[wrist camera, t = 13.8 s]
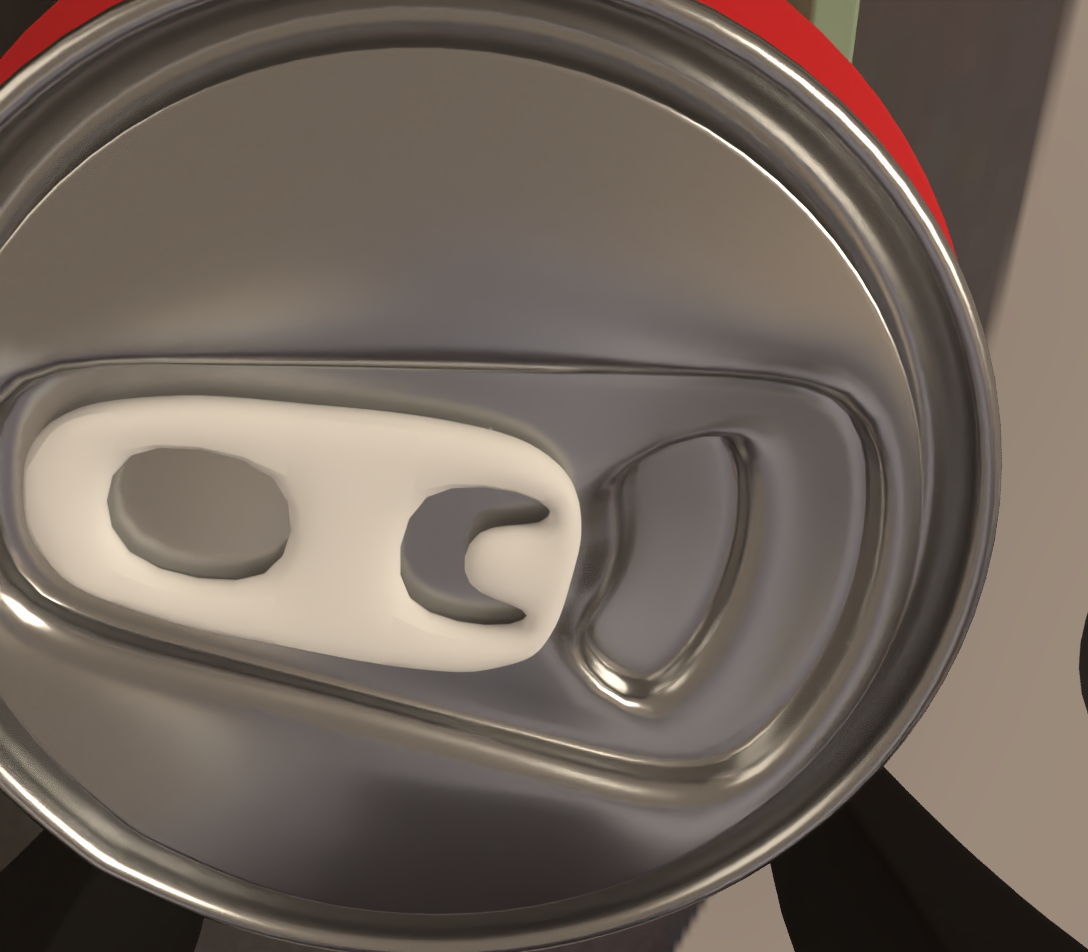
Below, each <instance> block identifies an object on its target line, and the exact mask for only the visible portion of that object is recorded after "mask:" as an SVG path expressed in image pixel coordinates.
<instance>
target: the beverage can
mask: <svg viewBox="0 0 1088 952" xmlns="http://www.w3.org/2000/svg"><path fill="white" fill-rule="evenodd" d="M1001 454H1002V452H1001V425H1000V415H999V407H998V399H997V391H996V384H995V377H994V373H993V368H992V363H991V359H990V354H989V350H988V345H987V340H986V337H985V333H984V330H983V327H982V324H981V321H980V318H979V315H978V311H977V308H976V305H975V302H974V299H973V296H972V294H971V291H970V289H969V286H968V284H967V282H966V279H965V277H964V275H963V272H962V270H961V268H960V265H959V263H958V260H957V257H956V253H955V250H954V247H953V244H952V241H951V238H950V235H949V232H948V228H947V225H946V222H945V219H944V217H943V215H942V212H941V210H940V208H939V205H938V203H937V200H936V198H935V196H934V193H933V191H932V189H931V186H930V184H929V181H928V179H927V177H926V175H925V173H924V172H923V170H922V168H921V166H920V164H919V162H918V160H917V158H916V156H915V155H914V153H913V151H912V149H911V147H910V145H909V143H908V141H907V140H906V138H905V137H904V135H903V133H902V132H901V130H900V129H899V127H898V126H897V124H896V123H895V121H894V120H893V118H892V117H891V115H890V113H889V112H888V110H887V109H886V107H885V106H884V104H883V103H882V101H881V100H880V99H879V98H878V96H877V95H876V94H875V92H874V91H873V90H872V89H871V87H870V86H869V85H868V84H867V82H866V81H865V80H864V78H863V77H862V76H861V75H860V73H859V72H858V71H857V70H856V68H855V67H854V66H853V65H852V64H851V63H850V62H849V60H848V59H847V58H846V57H845V56H844V55H843V54H842V53H841V52H840V51H839V50H838V49H837V48H836V47H835V46H834V45H833V44H832V42H831V41H830V40H829V39H828V38H827V37H826V36H825V35H824V34H823V33H822V32H821V31H820V30H819V29H818V28H817V27H816V26H814V25H813V24H812V23H811V22H810V21H809V20H808V19H807V18H805V17H804V16H803V15H802V14H801V13H800V12H799V11H797V10H796V9H795V8H794V7H793V6H792V5H791V4H790V3H788V2H787V1H786V0H58V1H57V2H56V3H55V4H54V5H53V6H52V7H51V8H50V9H49V10H47V11H46V12H45V13H44V14H43V15H42V16H41V17H40V18H39V19H38V20H37V21H35V22H34V23H33V24H32V25H31V26H30V27H29V28H28V29H27V30H26V31H25V32H24V33H23V34H22V35H21V36H20V38H19V39H18V40H17V41H16V42H15V43H14V44H13V45H12V47H11V48H10V49H9V50H8V51H7V52H6V53H5V54H4V55H3V57H2V58H1V59H0V791H1V792H2V793H3V794H4V795H5V796H6V797H8V798H9V799H10V800H11V801H12V802H13V803H14V804H15V805H17V806H18V807H19V808H20V809H21V810H22V811H23V812H24V813H25V814H27V815H28V816H29V817H30V818H31V819H32V820H33V821H35V822H36V823H37V824H38V825H39V826H41V827H42V828H43V829H44V830H45V831H47V832H48V833H49V834H50V835H51V836H53V837H54V838H55V839H56V840H58V841H59V842H60V843H61V844H63V845H64V846H65V847H67V848H68V849H69V850H70V851H72V852H73V853H74V854H75V855H77V856H78V857H79V858H81V859H82V860H83V861H85V862H86V863H87V864H89V865H90V866H92V867H94V868H95V869H97V870H98V871H100V872H102V873H104V874H106V875H108V876H110V877H112V878H114V879H116V880H119V881H121V882H123V883H125V884H127V885H129V886H132V887H134V888H136V889H138V890H140V891H142V892H145V893H147V894H149V895H151V896H154V897H156V898H158V899H161V900H163V901H165V902H167V903H170V904H172V905H175V906H177V907H180V908H182V909H185V910H187V911H190V912H192V913H195V914H197V915H200V916H202V917H205V918H208V919H211V920H214V921H216V922H219V923H222V924H225V925H228V926H231V927H234V928H237V929H241V930H244V931H247V932H251V933H254V934H258V935H261V936H265V937H269V938H273V939H277V940H281V941H286V942H290V943H294V944H298V945H303V946H309V947H315V948H320V949H326V950H331V951H338V952H530V951H537V950H544V949H550V948H555V947H560V946H564V945H569V944H574V943H579V942H584V941H587V940H591V939H595V938H599V937H603V936H606V935H610V934H614V933H617V932H620V931H624V930H627V929H630V928H633V927H636V926H639V925H642V924H645V923H648V922H651V921H654V920H656V919H659V918H661V917H664V916H666V915H669V914H672V913H674V912H677V911H679V910H682V909H684V908H686V907H688V906H691V905H693V904H695V903H697V902H699V901H702V900H704V899H706V898H708V897H710V896H712V895H715V894H716V893H718V892H720V891H722V890H724V889H726V888H728V887H730V886H732V885H733V884H735V883H737V882H739V881H741V880H743V879H745V878H746V877H748V876H750V875H751V874H753V873H754V872H756V871H758V870H760V869H761V868H763V867H764V866H766V865H768V864H769V863H771V862H773V861H774V860H776V859H777V858H779V857H780V856H782V855H783V854H784V853H786V852H787V851H789V850H790V849H792V848H793V847H794V846H796V845H797V844H799V843H800V842H802V841H803V840H804V839H806V838H807V837H808V836H809V835H811V834H812V833H813V832H814V831H816V830H817V829H818V828H819V827H821V826H822V825H823V824H824V823H826V822H827V821H828V820H829V819H831V818H832V817H833V816H834V815H835V814H836V813H837V812H838V811H839V810H840V809H842V808H843V807H844V806H845V805H846V804H847V803H848V802H849V801H850V800H851V799H852V798H854V797H855V796H856V795H857V794H858V793H859V792H860V791H861V790H862V789H863V788H864V787H865V785H866V784H867V783H868V782H869V781H870V780H871V779H872V778H873V777H874V776H875V775H876V774H877V773H878V772H879V771H880V770H881V769H882V768H883V766H884V765H885V764H886V763H887V761H888V760H889V759H890V758H891V757H892V756H893V754H894V753H895V752H896V751H897V749H898V748H899V747H900V746H901V745H902V743H903V742H904V741H905V739H906V738H907V737H908V735H909V734H910V733H911V731H912V730H913V728H914V727H915V725H916V724H917V723H918V721H919V720H920V719H921V717H922V716H923V714H924V713H925V712H926V710H927V708H928V707H929V705H930V703H931V702H932V700H933V698H934V697H935V695H936V693H937V692H938V690H939V688H940V687H941V685H942V684H943V682H944V680H945V678H946V676H947V674H948V672H949V670H950V668H951V666H952V664H953V662H954V660H955V658H956V656H957V654H958V653H959V650H960V648H961V646H962V644H963V641H964V639H965V636H966V634H967V632H968V629H969V627H970V624H971V622H972V619H973V617H974V614H975V611H976V608H977V605H978V602H979V599H980V596H981V593H982V589H983V586H984V583H985V580H986V576H987V572H988V567H989V563H990V558H991V554H992V550H993V546H994V541H995V534H996V527H997V520H998V513H999V506H1000V491H1001V470H1002V457H1001V456H1002V455H1001Z"/></svg>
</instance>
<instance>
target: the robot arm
mask: <svg viewBox="0 0 1088 952" xmlns="http://www.w3.org/2000/svg"><path fill="white" fill-rule="evenodd" d="M770 864H771V868H772V873H773V878H774V882H775V886H776V891H777V894H778V899H779V904H780V908H781V912H782V915H783V919H784V921H785V924H786V927H787V930H788V933H789V936H790V939H791V942H792V945H793V948H794V951H795V952H1088V949H1087V948H1086V947H1084V946H1083V945H1082V944H1080V943H1079V942H1078V941H1076V940H1075V939H1074V938H1073V937H1071V936H1070V935H1069V934H1067V933H1066V932H1065V931H1063V930H1062V929H1061V928H1060V927H1058V926H1057V925H1056V924H1054V923H1053V922H1052V921H1050V920H1049V919H1048V918H1046V917H1045V916H1044V915H1043V914H1042V913H1040V912H1039V911H1038V910H1037V909H1036V908H1034V907H1033V906H1032V905H1030V904H1029V903H1028V902H1027V901H1026V900H1024V899H1023V898H1022V897H1021V896H1020V895H1019V894H1017V893H1016V892H1015V891H1014V890H1013V889H1012V888H1011V887H1009V886H1008V885H1007V884H1006V883H1005V882H1004V881H1002V880H1001V879H1000V878H999V877H998V876H997V875H995V873H993V872H992V871H991V870H990V869H989V868H988V867H987V866H985V865H984V864H983V863H982V862H981V861H980V860H978V859H977V858H976V857H975V856H974V855H973V854H972V853H971V852H970V851H968V849H966V848H965V847H964V846H963V845H962V844H961V843H960V842H959V841H958V840H957V839H956V838H955V837H954V836H953V835H952V834H950V832H948V831H947V830H946V829H945V828H944V827H943V826H942V825H941V824H940V823H939V822H938V821H937V820H936V819H935V818H934V817H933V816H932V815H931V814H930V813H929V812H928V811H927V810H926V809H925V808H924V807H923V806H922V805H921V804H920V803H919V802H918V801H917V800H916V799H915V798H914V797H913V796H912V795H911V794H909V792H908V791H907V790H906V789H905V788H904V787H903V786H902V785H901V784H900V783H899V782H898V781H897V780H896V779H895V778H894V777H893V776H892V775H891V774H890V773H889V772H888V771H887V770H886V769H885V768H884V767H883V768H882V769H881V770H880V771H879V772H878V773H877V774H876V775H875V776H874V777H873V778H872V779H871V780H870V781H869V782H868V783H867V784H866V785H865V787H864V788H863V789H862V790H861V791H860V792H859V793H858V794H857V795H856V796H855V797H854V798H852V799H851V800H850V801H849V802H848V803H847V804H846V805H845V806H844V807H843V808H842V809H840V810H839V811H838V812H837V813H836V814H835V815H834V816H833V817H832V818H831V819H829V820H828V821H827V822H826V823H824V824H823V825H822V826H821V827H819V828H818V829H817V830H816V831H814V832H813V833H812V834H811V835H809V836H808V837H807V838H806V839H804V840H803V841H802V842H800V843H799V844H797V845H796V846H794V847H793V848H792V849H790V850H789V851H787V852H786V853H784V854H783V855H782V856H780V857H779V858H777V859H776V860H774V861H773V862H771V863H770ZM203 919H204V917H202V916H200V915H197V914H195V913H192V912H190V911H187V910H185V909H182V908H180V907H177V906H175V905H172V904H170V903H167V902H165V901H163V900H161V899H158V898H156V897H154V896H151V895H149V894H147V893H145V892H142V891H140V890H138V889H136V888H134V887H132V886H129V885H127V884H125V883H123V882H121V881H119V880H116V879H114V878H112V877H110V876H108V875H106V874H104V873H102V872H100V871H98V870H97V869H95V868H94V867H92V866H90V865H89V864H87V863H86V862H85V861H83V860H82V859H81V858H79V857H78V856H77V855H75V854H74V853H73V852H72V851H70V850H69V849H68V848H67V847H65V846H64V845H63V844H61V843H60V842H59V841H58V840H56V839H55V838H54V837H53V836H51V835H50V834H49V833H48V832H47V831H45V830H43V831H42V832H41V833H40V834H39V835H38V836H37V837H36V838H35V839H34V840H33V841H32V842H31V843H30V844H29V845H28V846H27V847H26V848H25V849H24V850H23V851H22V852H21V853H20V854H19V855H18V856H17V857H16V858H15V859H14V860H13V861H12V862H11V863H10V864H9V865H8V866H7V867H5V868H4V869H3V870H2V871H1V872H0V952H194V950H195V947H196V944H197V941H198V938H199V935H200V932H201V928H202V923H203Z"/></svg>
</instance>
